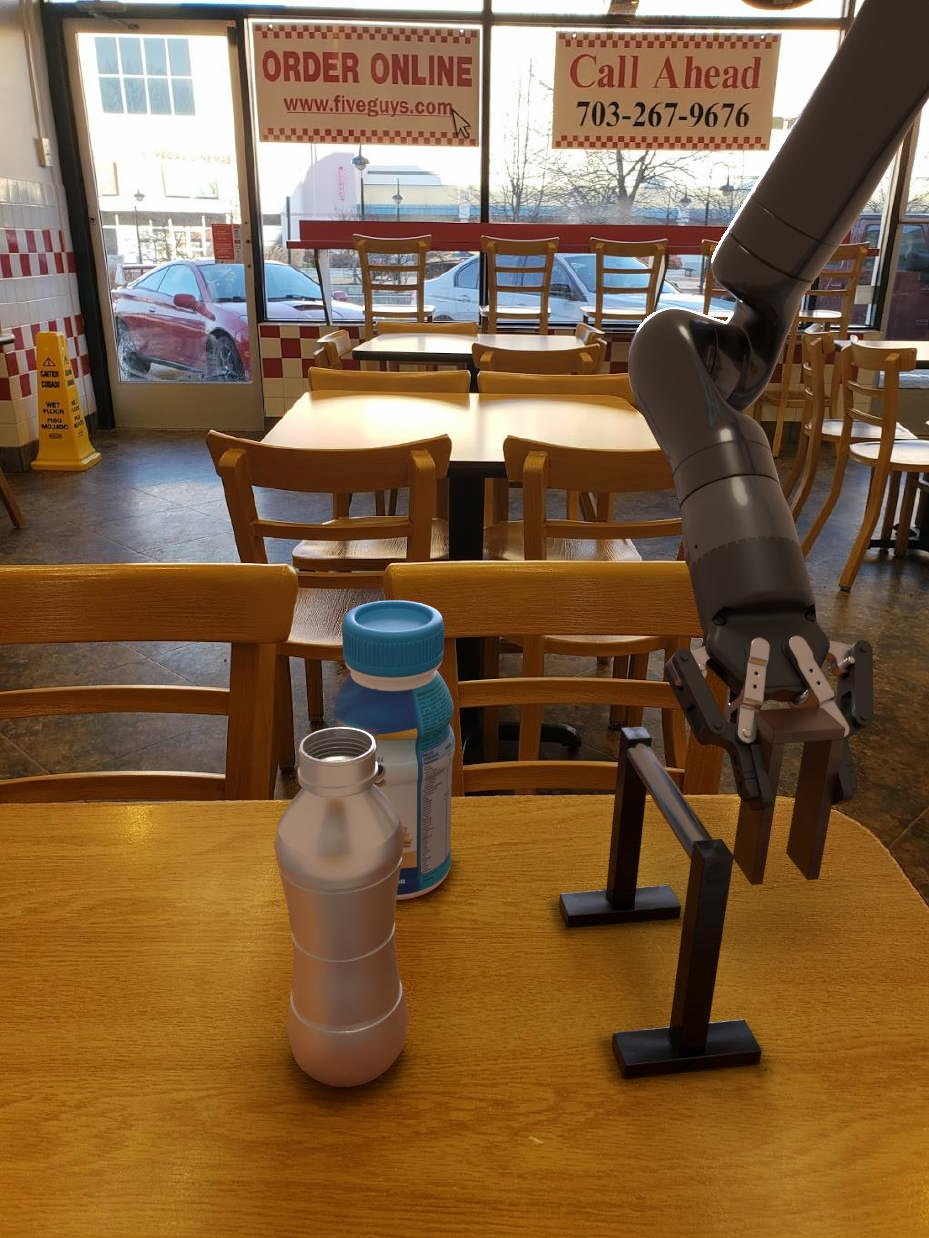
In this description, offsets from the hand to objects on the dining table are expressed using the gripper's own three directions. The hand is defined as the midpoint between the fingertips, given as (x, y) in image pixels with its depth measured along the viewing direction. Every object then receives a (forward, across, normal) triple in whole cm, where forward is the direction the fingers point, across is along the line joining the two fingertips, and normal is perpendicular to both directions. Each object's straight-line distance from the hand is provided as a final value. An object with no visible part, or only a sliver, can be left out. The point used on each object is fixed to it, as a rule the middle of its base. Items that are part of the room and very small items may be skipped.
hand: (802, 803), depth 58 cm
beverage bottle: (0, -24, +16) cm, 29 cm away
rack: (+9, -9, +7) cm, 15 cm away
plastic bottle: (+12, -28, +4) cm, 31 cm away
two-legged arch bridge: (+3, 0, +6) cm, 6 cm away
